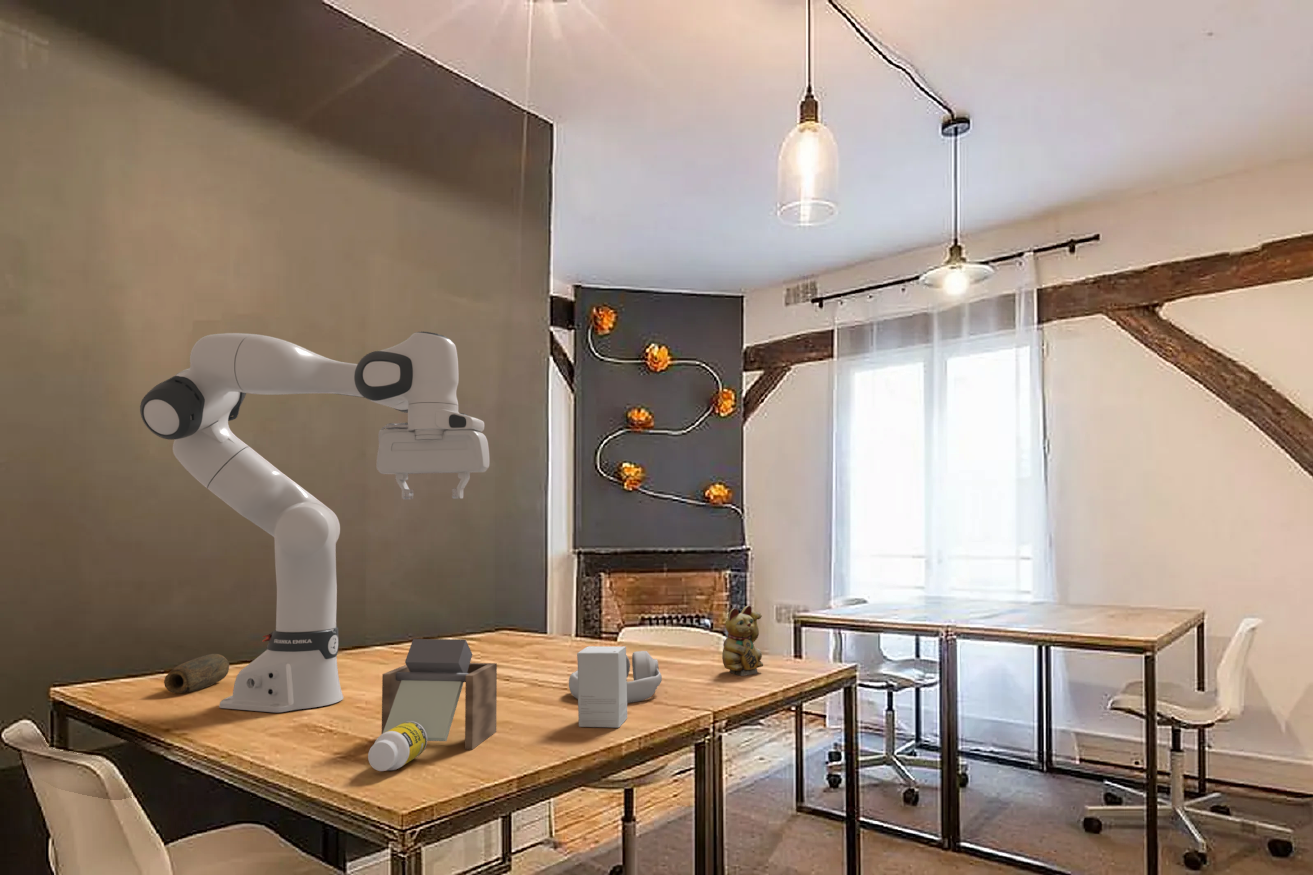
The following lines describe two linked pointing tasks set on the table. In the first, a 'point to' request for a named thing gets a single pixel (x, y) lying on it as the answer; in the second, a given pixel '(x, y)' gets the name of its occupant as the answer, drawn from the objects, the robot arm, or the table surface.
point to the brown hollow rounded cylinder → (197, 673)
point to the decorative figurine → (742, 642)
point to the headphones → (643, 676)
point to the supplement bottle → (398, 746)
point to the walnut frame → (476, 700)
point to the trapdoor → (431, 685)
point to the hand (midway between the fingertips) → (432, 499)
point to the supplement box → (602, 686)
